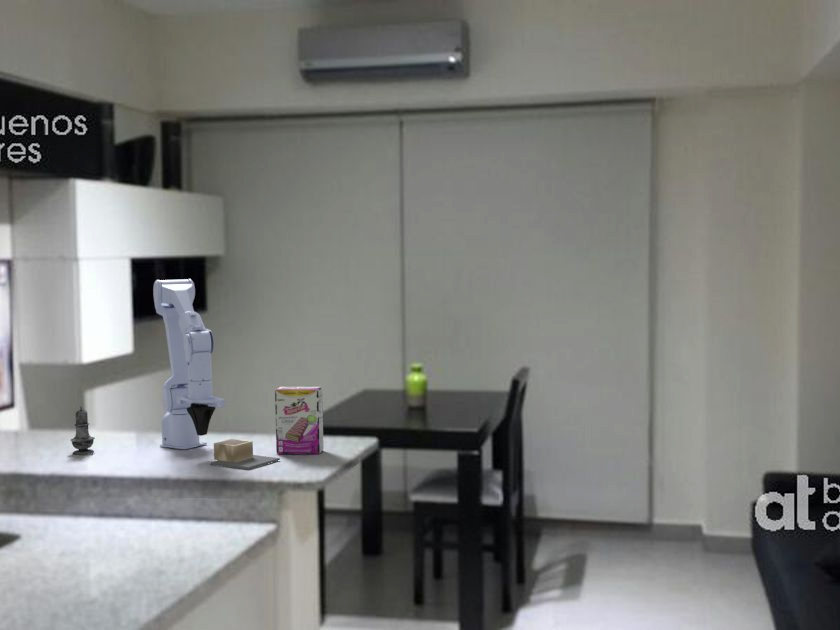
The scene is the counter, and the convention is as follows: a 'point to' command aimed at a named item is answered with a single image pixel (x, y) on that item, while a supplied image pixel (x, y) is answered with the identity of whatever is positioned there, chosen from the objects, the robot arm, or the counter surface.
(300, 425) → the candy bar box
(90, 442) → the salt shaker
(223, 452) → the maple block
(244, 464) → the grey plate
